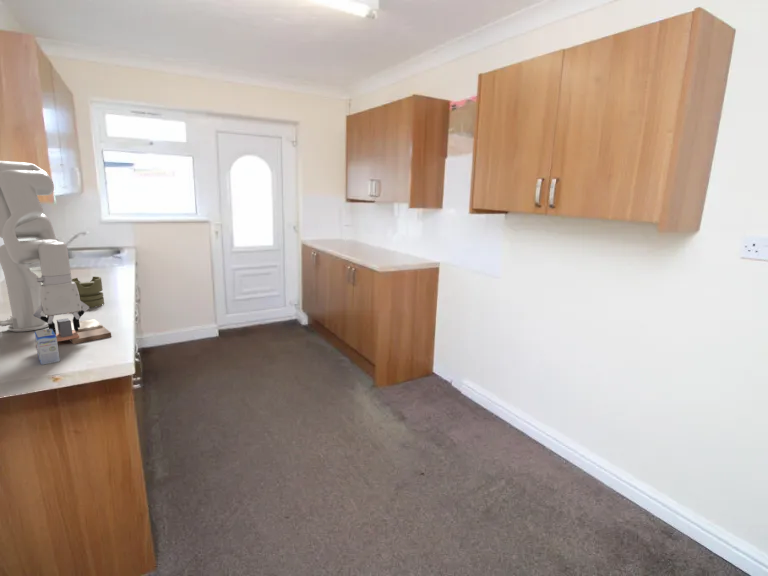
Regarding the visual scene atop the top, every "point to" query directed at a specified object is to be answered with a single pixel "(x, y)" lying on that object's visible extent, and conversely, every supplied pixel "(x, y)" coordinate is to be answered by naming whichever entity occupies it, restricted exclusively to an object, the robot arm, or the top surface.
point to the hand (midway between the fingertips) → (65, 331)
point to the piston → (90, 291)
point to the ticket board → (90, 331)
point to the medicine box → (47, 346)
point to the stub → (65, 330)
